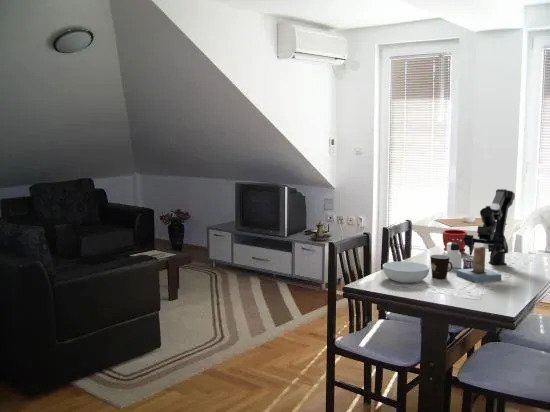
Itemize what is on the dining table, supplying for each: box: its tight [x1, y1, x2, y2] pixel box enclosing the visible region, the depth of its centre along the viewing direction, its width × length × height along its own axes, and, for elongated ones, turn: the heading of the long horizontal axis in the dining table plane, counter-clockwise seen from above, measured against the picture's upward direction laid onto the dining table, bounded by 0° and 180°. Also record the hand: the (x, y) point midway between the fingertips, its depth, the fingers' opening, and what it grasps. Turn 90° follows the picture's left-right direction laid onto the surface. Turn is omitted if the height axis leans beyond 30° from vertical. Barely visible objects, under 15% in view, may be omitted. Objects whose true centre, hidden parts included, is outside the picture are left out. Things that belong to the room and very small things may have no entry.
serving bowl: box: [382, 261, 431, 284], centre depth 260 cm, size 21×21×7 cm
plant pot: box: [442, 229, 468, 254], centre depth 320 cm, size 13×13×12 cm
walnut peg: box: [472, 246, 487, 274], centre depth 265 cm, size 5×5×14 cm
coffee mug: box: [430, 254, 453, 280], centre depth 263 cm, size 12×9×10 cm
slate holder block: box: [456, 267, 502, 283], centre depth 265 cm, size 14×14×2 cm
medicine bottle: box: [443, 242, 463, 269], centre depth 287 cm, size 7×7×12 cm
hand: (480, 256), depth 266 cm, fingers open, 9 cm apart
